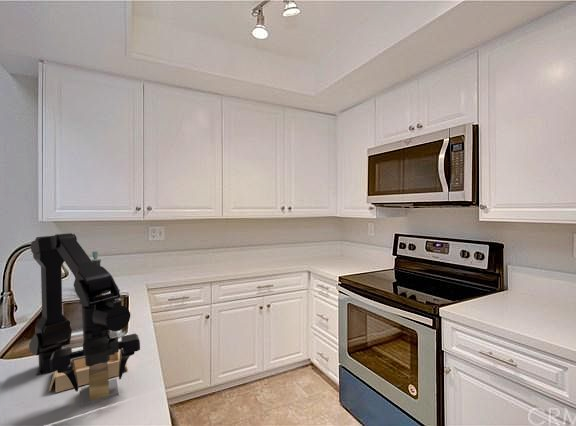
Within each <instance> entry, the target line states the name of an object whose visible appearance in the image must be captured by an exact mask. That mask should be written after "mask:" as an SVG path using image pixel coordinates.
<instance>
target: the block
mask: <svg viewBox="0 0 576 426" xmlns="http://www.w3.org/2000/svg"><path fill="white" fill-rule="evenodd" d="M88 386H89V391H90V401H92V400H95V399H98V398H102V397H105V396H108V395H109V378H108V363H107V362H106V363H99V364H95V365H93V366H89V384H88Z"/></svg>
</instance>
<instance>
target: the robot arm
mask: <svg viewBox="0 0 576 426" xmlns="http://www.w3.org/2000/svg"><path fill="white" fill-rule="evenodd" d="M30 251H31V254H32V256H33V259H34V261H36V263H37V264H38V265H39V266H40V277H41V278H40V280H41V281H40V282H41V285H40V286H41V317H40V318H39V320H38V321H37V323H36V324H35V326H34V333H33V336H32V338H31V340H30V342H29V344H28V346H29V353H31V354H32V355H35V356H38V367H37V370H36V373H35V375H36V376H40V375H44V374H48V373H51V372H52V373H54V371H57V372H58V373H64V374H66V375H67V377H68V378H69V379H70V381H71V383H72V385H73V387H74V388H73V389H74V391H75V392H78V391H79V386H78V380H77V374H76V368H75V363H74V360H77V359H81V358H85V363H86V366H93V365H95V364H99V363H106V362H108V361H109V360H110V355H114V354H115V353H117V352H119V350H120V360H119V375H118V380H121V379H122V377H123V374H124V371H125V369H126V368H125V365H126V363H127V362H128V359H129V358H130V357H131V356H134V355H135V353H136V352H139V351H141V341H140V338H139V335H138V334H137V333H131V334H128V335H123V336H121V338H120V339H121V340H120V341H119V337H118V336H116V337H111V332H119V331H122V330H123V329H124V328H125V327H127V325H128V324H129V322H130V319H131V312H130V310H129V308H128V307H127V306H124V305H123V304H122V300H120V299H121V298H122V295H121V293H120V292H121V290H120V288H119V286H118V285H117V283H116V280H115V279H114V277H113V276H112V274H111V273H110V272H109V271H108V269H106V268H105V267H104V266H101V265H100V266H99V265H96V264H94V263H93V262H92V261H91V258H90V257H89V255H88V253H86V251H85V250H84V249H83V247H82V246H81V244H80V243H79V241H78V237H77V236H76V235H75V233H72V232H68V233H55V235H46V236H37V237H36V238H35V239H34V240H33V241H31V243H30ZM64 263H65V265H66V266H67V267H68V268H69V270H70V272H71V273H72V274H73V276H74V282H73V287H74V292H75V294H76V295H77V297H78V299H79V301H78V304H79V305H81V315H82V316H81V317H82V335H83V336H82V338H83V343H82V349H80V350H76V351H73V348H72V347H67V348H63V347H65V346H68V345H71V339H72V330H73V329H72V327H71V321H70V320H69V319H67V318H66V317H65V315H63V288H62V287H63V285H62V284H63V279H62V278H63V277H62V276H63V275H62V274H63V273H62V266H63V264H64ZM98 295H101V296H98ZM57 372H56V373H57Z"/></svg>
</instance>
